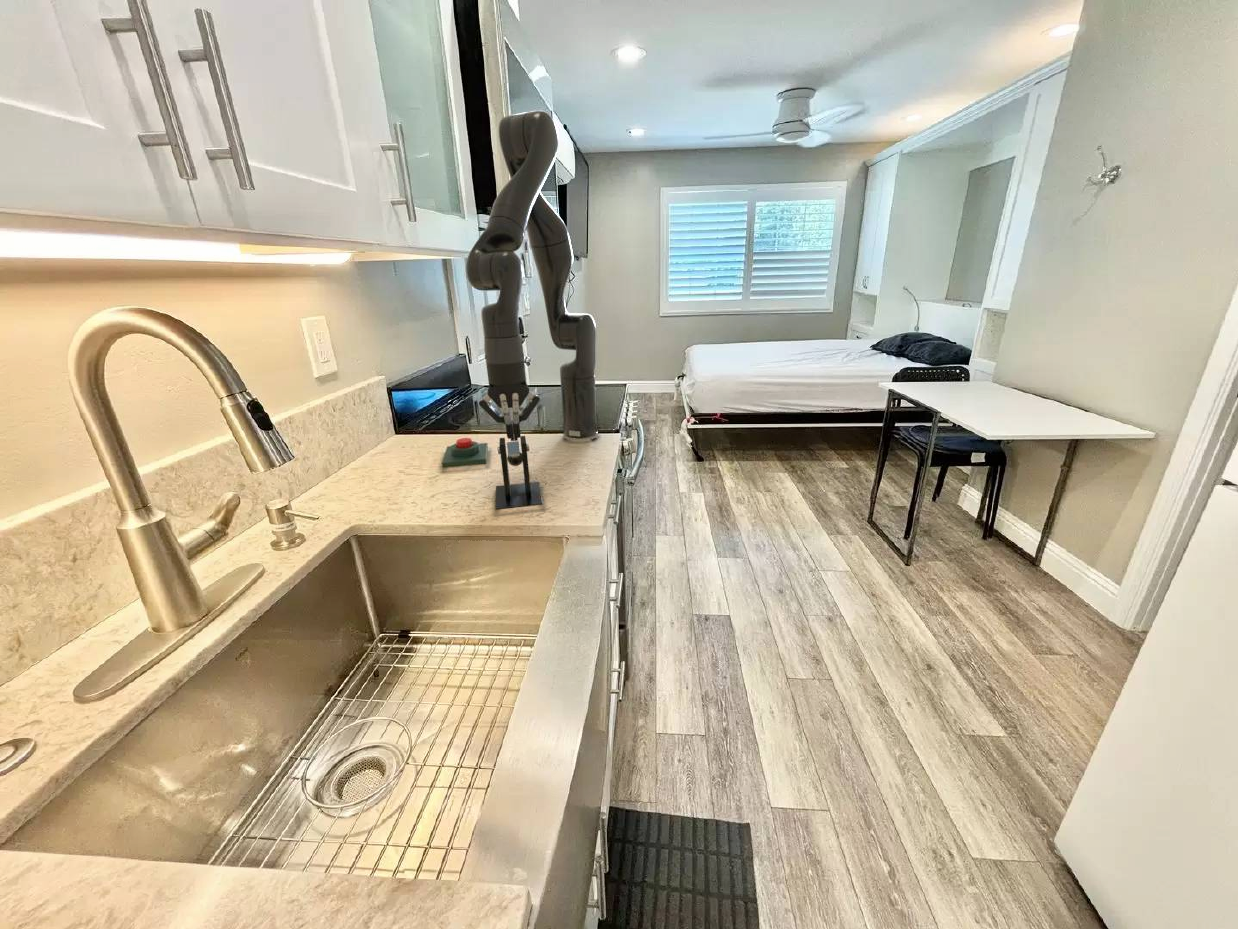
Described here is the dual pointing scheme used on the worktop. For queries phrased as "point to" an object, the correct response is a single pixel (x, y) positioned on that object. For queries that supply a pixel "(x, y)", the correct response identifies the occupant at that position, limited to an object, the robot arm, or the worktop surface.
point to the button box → (465, 455)
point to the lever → (514, 453)
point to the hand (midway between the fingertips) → (514, 439)
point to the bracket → (516, 492)
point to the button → (464, 443)
